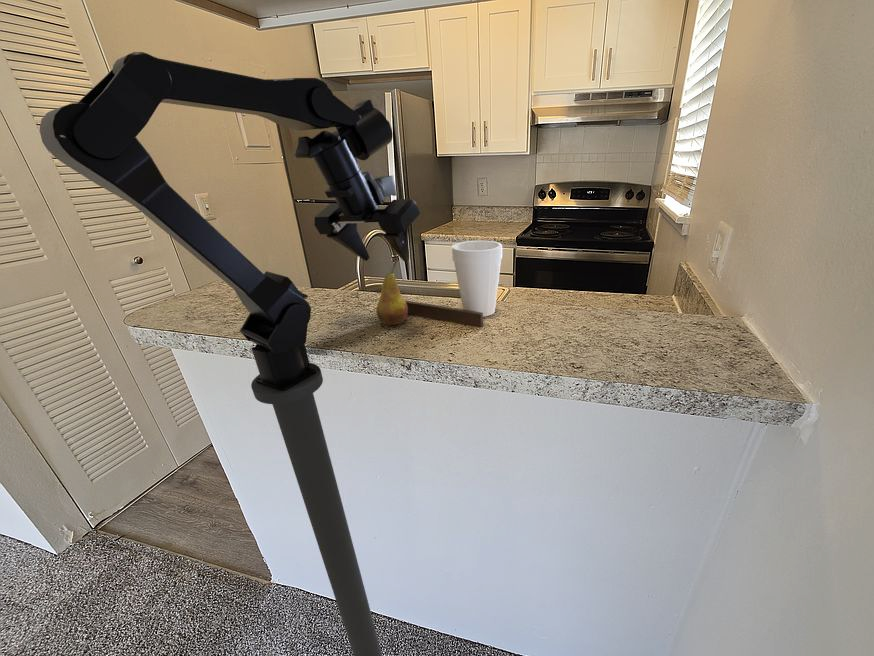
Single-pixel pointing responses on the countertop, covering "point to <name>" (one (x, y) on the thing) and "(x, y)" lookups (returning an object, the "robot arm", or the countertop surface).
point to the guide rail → (445, 313)
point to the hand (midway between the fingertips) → (386, 259)
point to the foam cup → (478, 274)
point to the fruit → (391, 302)
